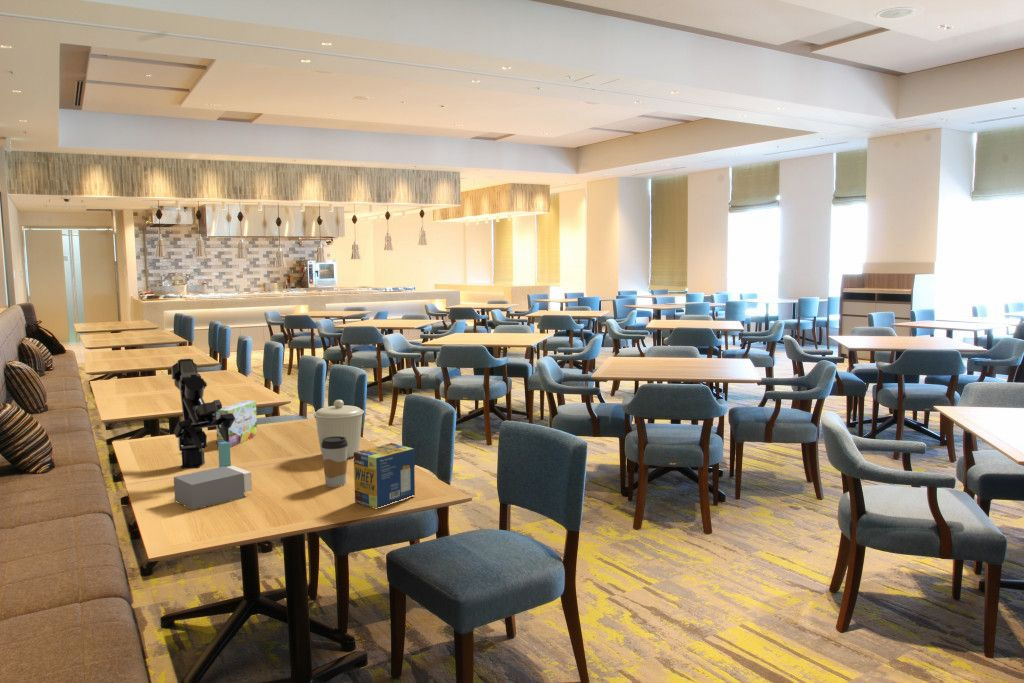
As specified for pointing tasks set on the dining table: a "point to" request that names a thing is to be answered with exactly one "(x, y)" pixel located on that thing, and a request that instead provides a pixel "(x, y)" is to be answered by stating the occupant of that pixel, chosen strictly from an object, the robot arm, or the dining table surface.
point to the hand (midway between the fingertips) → (214, 445)
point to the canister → (340, 424)
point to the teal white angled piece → (226, 461)
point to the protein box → (384, 474)
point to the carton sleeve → (209, 487)
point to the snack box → (240, 422)
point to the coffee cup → (335, 460)
